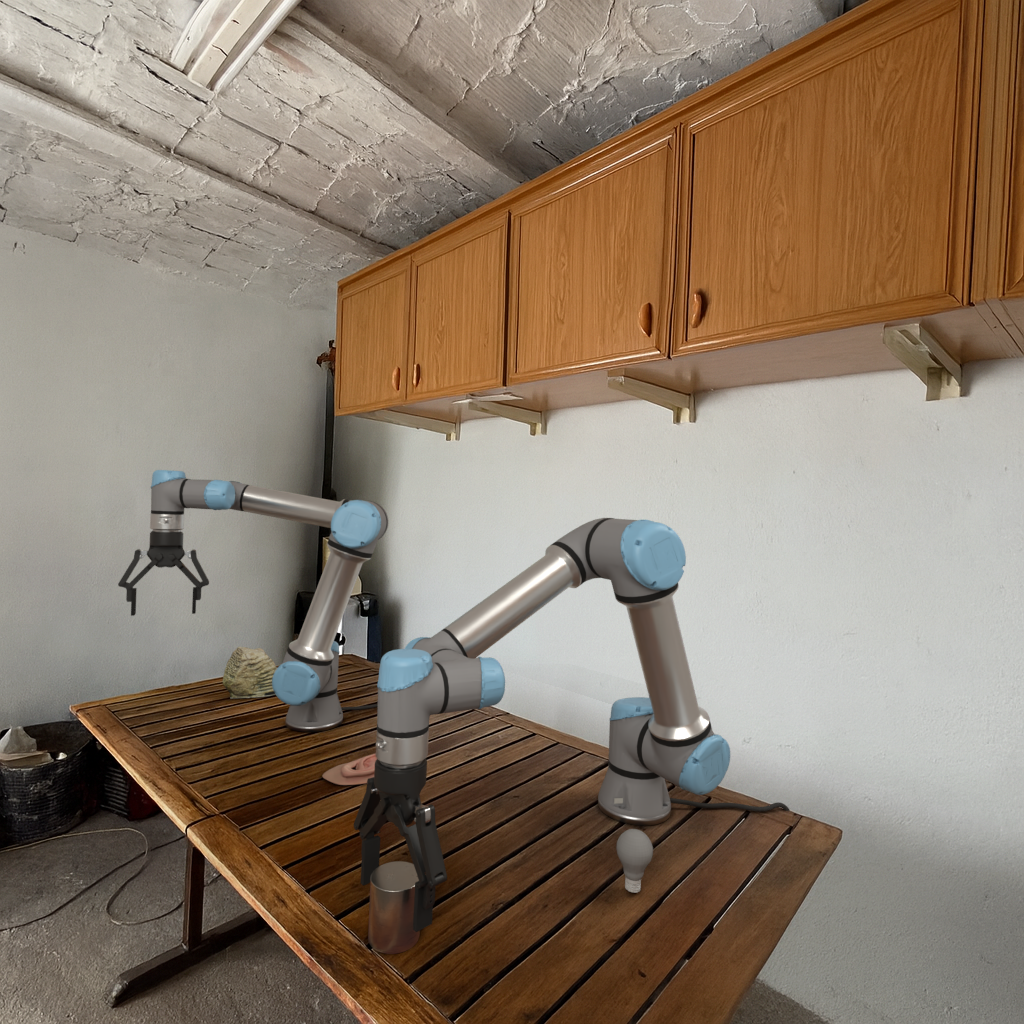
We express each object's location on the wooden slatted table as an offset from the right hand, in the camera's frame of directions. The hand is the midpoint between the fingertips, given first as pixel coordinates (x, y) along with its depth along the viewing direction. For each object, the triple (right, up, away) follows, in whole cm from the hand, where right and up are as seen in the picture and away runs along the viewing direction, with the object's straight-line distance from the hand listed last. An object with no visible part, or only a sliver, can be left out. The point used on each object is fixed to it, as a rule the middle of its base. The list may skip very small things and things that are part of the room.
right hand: (394, 903), depth 92 cm
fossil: (-63, 0, +106) cm, 123 cm away
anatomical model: (-19, -3, +52) cm, 56 cm away
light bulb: (+37, -6, +13) cm, 40 cm away
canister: (0, -5, 0) cm, 5 cm away
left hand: (-72, +31, +69) cm, 104 cm away
